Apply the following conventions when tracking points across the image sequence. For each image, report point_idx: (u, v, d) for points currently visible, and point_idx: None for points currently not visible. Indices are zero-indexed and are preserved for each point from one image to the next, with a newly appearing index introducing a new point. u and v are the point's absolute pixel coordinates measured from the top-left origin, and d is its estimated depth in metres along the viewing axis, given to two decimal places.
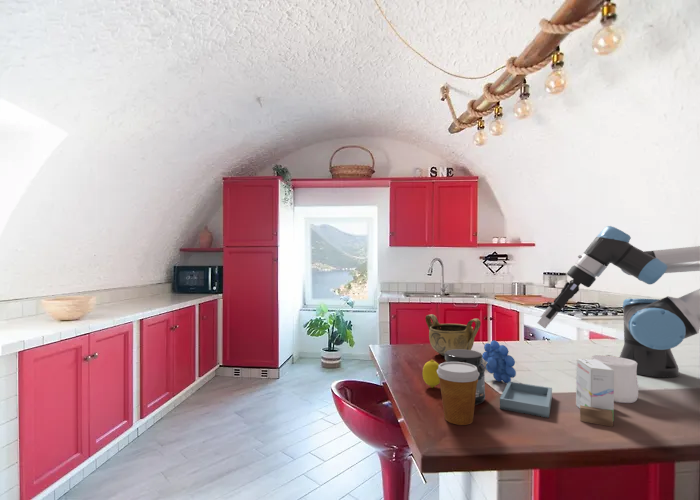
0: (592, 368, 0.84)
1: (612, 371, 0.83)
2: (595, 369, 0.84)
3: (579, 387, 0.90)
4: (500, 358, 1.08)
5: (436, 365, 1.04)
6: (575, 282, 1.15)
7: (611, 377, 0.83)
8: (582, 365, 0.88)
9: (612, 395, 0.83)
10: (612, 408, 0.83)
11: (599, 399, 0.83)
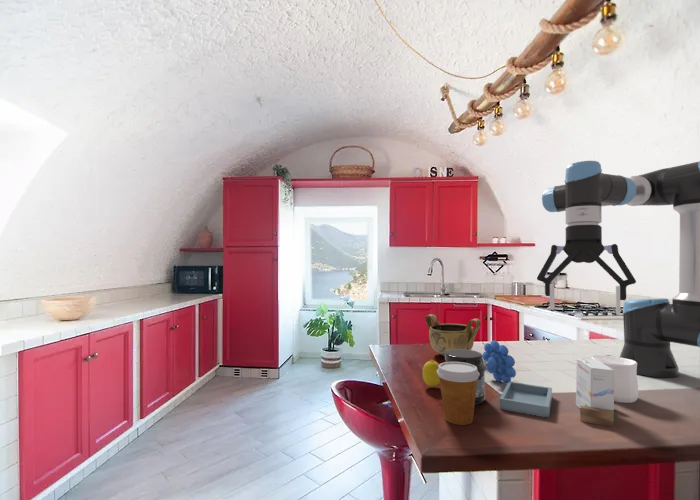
0: (592, 368, 0.84)
1: (612, 371, 0.83)
2: (595, 369, 0.84)
3: (579, 387, 0.90)
4: (500, 358, 1.08)
5: (436, 365, 1.04)
6: (601, 242, 0.88)
7: (611, 377, 0.83)
8: (583, 365, 0.88)
9: (612, 395, 0.83)
10: (612, 408, 0.83)
11: (599, 399, 0.83)
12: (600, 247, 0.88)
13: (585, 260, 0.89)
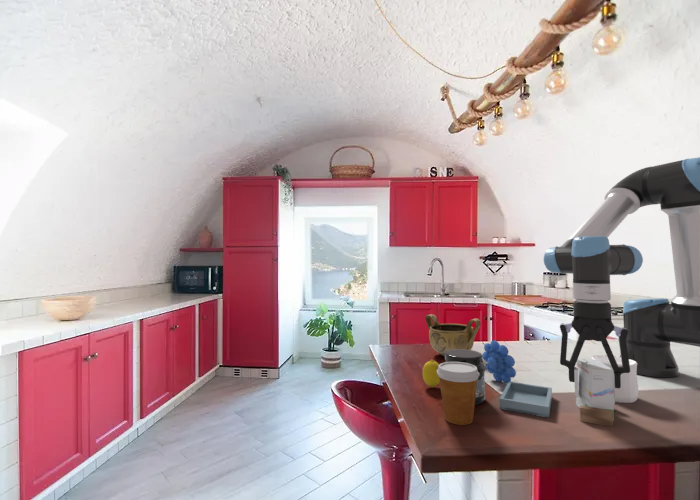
0: (592, 368, 0.84)
1: (612, 371, 0.83)
2: (595, 369, 0.84)
3: (579, 387, 0.90)
4: (500, 358, 1.09)
5: (436, 365, 1.04)
6: None
7: (611, 377, 0.83)
8: (582, 365, 0.88)
9: (612, 395, 0.83)
10: (612, 408, 0.83)
11: (599, 399, 0.83)
12: (610, 326, 0.85)
13: (595, 338, 0.87)
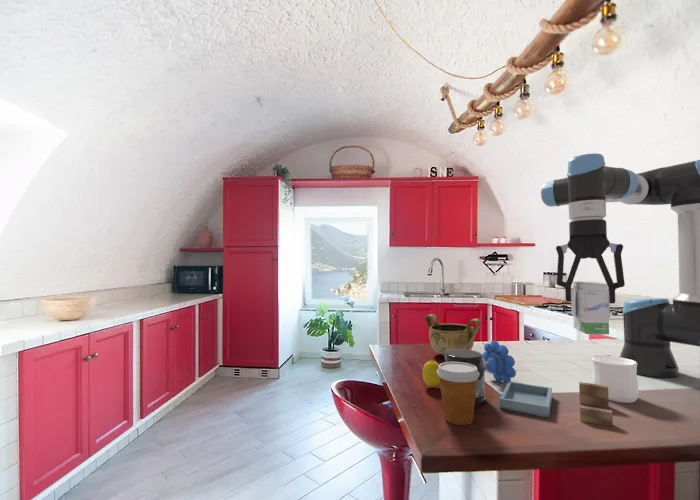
0: (586, 283, 0.85)
1: (606, 285, 0.84)
2: (589, 284, 0.85)
3: (575, 307, 0.90)
4: (500, 358, 1.08)
5: (436, 365, 1.04)
6: (606, 237, 0.86)
7: (605, 291, 0.84)
8: (577, 285, 0.89)
9: (606, 308, 0.84)
10: (607, 321, 0.84)
11: (594, 313, 0.84)
12: (606, 242, 0.86)
13: (590, 256, 0.87)
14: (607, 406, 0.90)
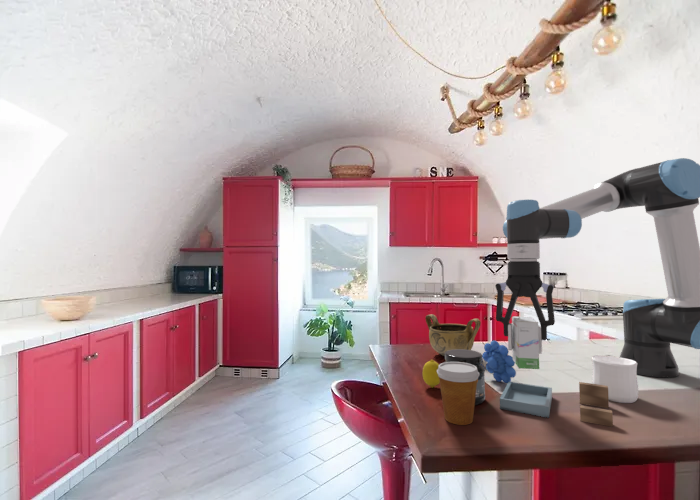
0: (519, 321, 0.91)
1: (536, 323, 0.90)
2: (521, 322, 0.91)
3: (513, 341, 0.97)
4: (500, 358, 1.08)
5: (436, 365, 1.04)
6: (539, 278, 0.93)
7: (536, 328, 0.90)
8: (514, 321, 0.95)
9: (537, 345, 0.90)
10: (537, 357, 0.90)
11: (526, 349, 0.90)
12: (538, 282, 0.92)
13: (525, 294, 0.93)
14: (607, 406, 0.90)
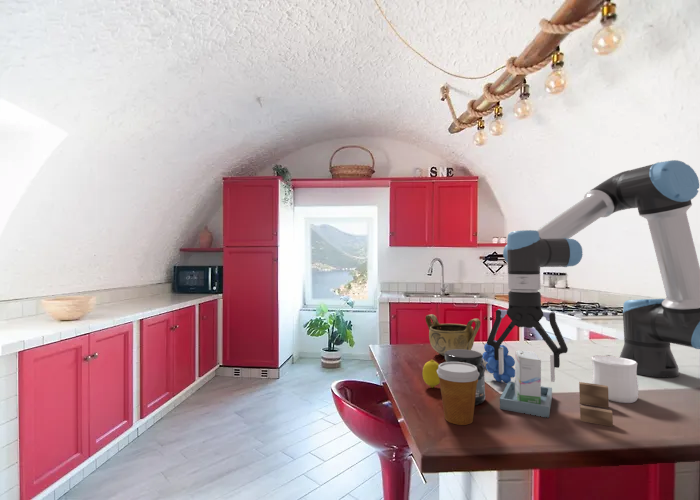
0: (521, 358, 0.91)
1: (539, 361, 0.90)
2: (524, 359, 0.91)
3: (515, 376, 0.96)
4: None
5: (436, 365, 1.04)
6: (540, 309, 0.92)
7: (538, 366, 0.90)
8: (517, 356, 0.95)
9: (539, 383, 0.89)
10: (539, 395, 0.89)
11: (527, 386, 0.90)
12: (539, 314, 0.92)
13: (526, 325, 0.93)
14: (607, 406, 0.90)
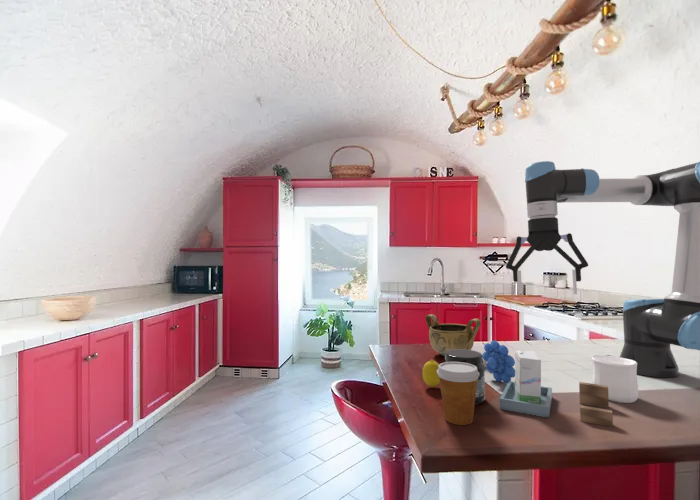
0: (521, 358, 0.91)
1: (539, 361, 0.90)
2: (524, 359, 0.91)
3: (515, 376, 0.96)
4: (500, 358, 1.08)
5: (436, 365, 1.04)
6: (558, 232, 1.01)
7: (538, 366, 0.90)
8: (517, 356, 0.95)
9: (539, 383, 0.89)
10: (539, 395, 0.89)
11: (527, 386, 0.90)
12: (557, 236, 1.01)
13: (546, 248, 1.02)
14: (607, 406, 0.90)
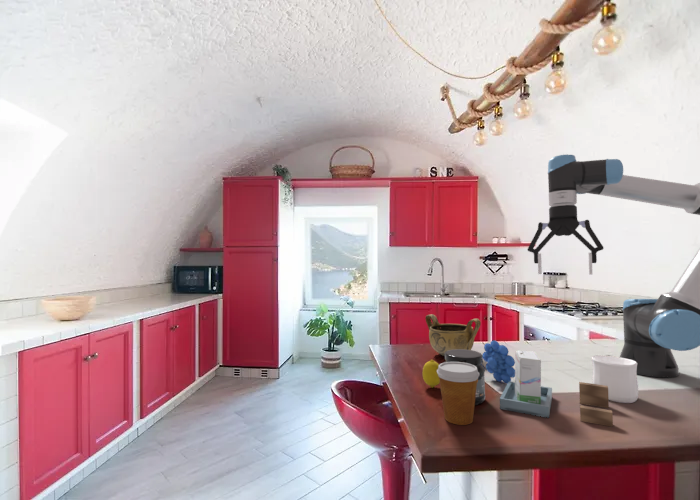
0: (521, 358, 0.91)
1: (539, 361, 0.90)
2: (524, 359, 0.91)
3: (515, 376, 0.96)
4: (500, 358, 1.08)
5: (436, 365, 1.04)
6: None
7: (538, 366, 0.90)
8: (517, 356, 0.95)
9: (539, 383, 0.89)
10: (539, 395, 0.89)
11: (527, 386, 0.90)
12: (576, 222, 1.12)
13: (565, 233, 1.13)
14: (607, 406, 0.90)
